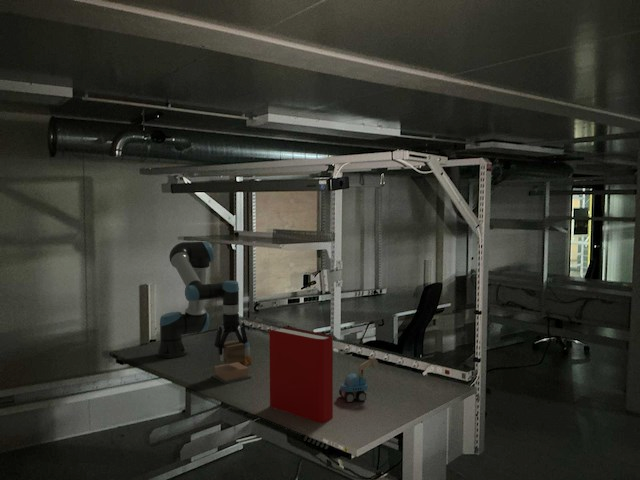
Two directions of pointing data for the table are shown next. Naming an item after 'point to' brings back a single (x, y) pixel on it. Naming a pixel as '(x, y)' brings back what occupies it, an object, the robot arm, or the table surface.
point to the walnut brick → (233, 352)
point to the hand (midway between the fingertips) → (231, 359)
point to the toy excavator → (357, 383)
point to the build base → (231, 373)
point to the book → (302, 373)
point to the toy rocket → (246, 355)
